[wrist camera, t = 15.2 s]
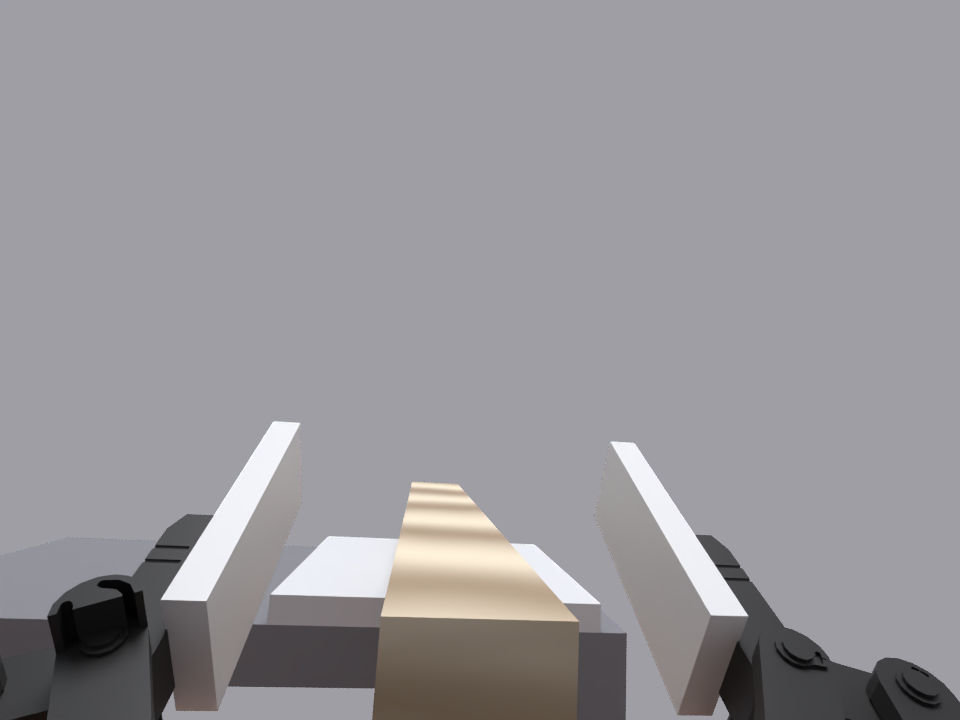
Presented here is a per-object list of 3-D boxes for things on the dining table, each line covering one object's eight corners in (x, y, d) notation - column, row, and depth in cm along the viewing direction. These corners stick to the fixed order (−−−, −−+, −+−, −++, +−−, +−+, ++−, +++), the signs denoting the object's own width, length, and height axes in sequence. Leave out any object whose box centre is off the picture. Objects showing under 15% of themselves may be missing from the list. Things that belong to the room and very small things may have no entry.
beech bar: (573, 843, 8) (578, 621, 8) (362, 846, 7) (380, 616, 8) (454, 530, 35) (457, 484, 36) (408, 528, 35) (412, 481, 35)
